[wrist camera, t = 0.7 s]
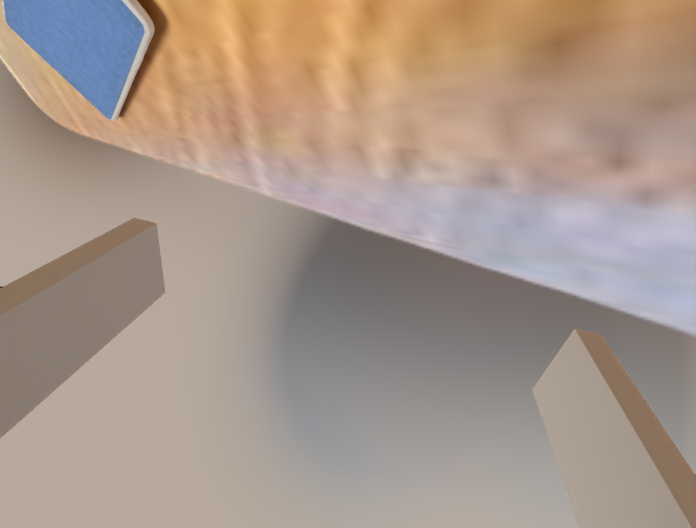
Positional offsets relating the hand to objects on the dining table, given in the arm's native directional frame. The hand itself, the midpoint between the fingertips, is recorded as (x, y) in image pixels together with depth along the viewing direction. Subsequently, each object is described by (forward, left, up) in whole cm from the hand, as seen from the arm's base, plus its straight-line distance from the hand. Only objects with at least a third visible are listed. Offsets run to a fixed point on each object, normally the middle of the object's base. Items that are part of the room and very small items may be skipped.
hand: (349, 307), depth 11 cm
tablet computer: (+7, -35, -18) cm, 40 cm away
